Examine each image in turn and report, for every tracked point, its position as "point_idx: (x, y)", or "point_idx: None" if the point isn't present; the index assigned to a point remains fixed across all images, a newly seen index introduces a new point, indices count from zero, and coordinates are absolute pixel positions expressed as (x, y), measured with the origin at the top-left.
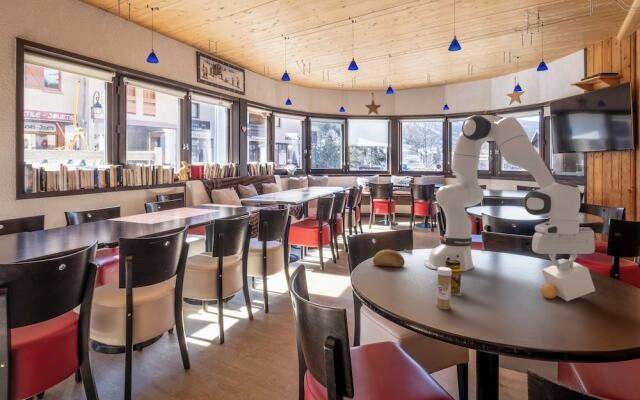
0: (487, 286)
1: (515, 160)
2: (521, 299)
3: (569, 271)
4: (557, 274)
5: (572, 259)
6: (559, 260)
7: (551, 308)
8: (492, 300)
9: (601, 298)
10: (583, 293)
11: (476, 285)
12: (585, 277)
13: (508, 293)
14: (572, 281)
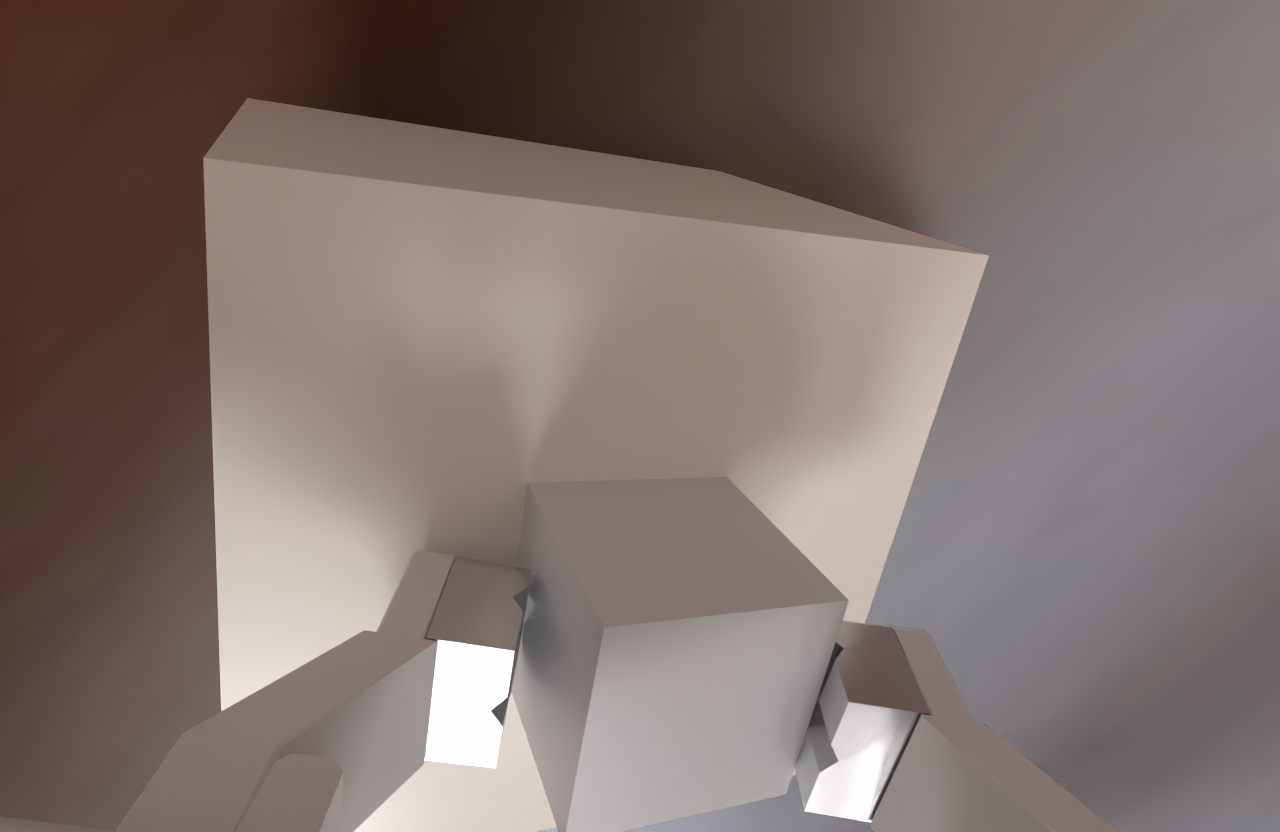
0: (1153, 775)
1: None
2: (1176, 385)
3: (651, 381)
4: (862, 441)
5: (386, 687)
6: (701, 783)
7: (1110, 18)
8: None
9: (102, 242)
10: (470, 134)
11: (1237, 812)
12: (374, 147)
13: (1134, 574)
14: (679, 196)
